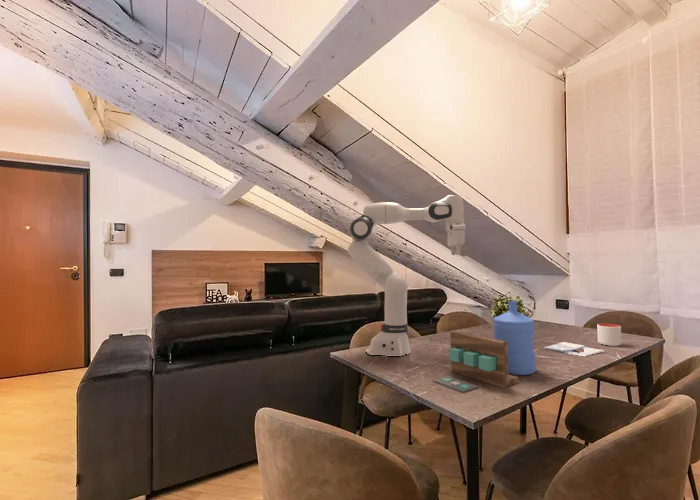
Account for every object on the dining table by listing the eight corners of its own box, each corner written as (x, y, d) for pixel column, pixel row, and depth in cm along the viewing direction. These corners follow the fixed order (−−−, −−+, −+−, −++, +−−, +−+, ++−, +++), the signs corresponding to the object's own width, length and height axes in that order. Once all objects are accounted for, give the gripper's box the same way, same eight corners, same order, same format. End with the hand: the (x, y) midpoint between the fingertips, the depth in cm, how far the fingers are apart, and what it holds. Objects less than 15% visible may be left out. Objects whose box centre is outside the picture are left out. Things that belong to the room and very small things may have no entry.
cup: (626, 346, 184) (625, 327, 184) (606, 347, 184) (605, 327, 184) (612, 342, 194) (611, 323, 194) (593, 342, 194) (592, 323, 194)
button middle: (473, 366, 136) (472, 354, 136) (463, 364, 140) (463, 352, 140) (485, 363, 140) (484, 352, 140) (475, 360, 144) (475, 349, 144)
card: (463, 392, 126) (463, 390, 126) (433, 381, 138) (433, 379, 138) (478, 388, 130) (478, 385, 130) (448, 377, 142) (448, 375, 142)
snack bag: (565, 345, 192) (565, 340, 192) (607, 353, 174) (607, 348, 174) (542, 349, 183) (542, 345, 183) (584, 359, 165) (584, 354, 165)
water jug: (516, 378, 140) (514, 305, 141) (486, 367, 154) (484, 301, 155) (544, 372, 146) (542, 302, 147) (513, 362, 160) (511, 298, 161)
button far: (458, 362, 142) (458, 351, 142) (449, 360, 146) (449, 349, 146) (470, 359, 146) (469, 348, 146) (461, 357, 150) (461, 346, 150)
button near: (489, 371, 130) (488, 359, 130) (478, 368, 134) (478, 356, 134) (501, 367, 134) (500, 355, 134) (490, 365, 138) (490, 353, 138)
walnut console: (503, 387, 130) (502, 342, 130) (451, 371, 150) (450, 332, 151) (518, 382, 135) (517, 339, 135) (466, 367, 155) (465, 329, 155)
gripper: (444, 229, 193) (444, 255, 192) (453, 225, 172) (454, 254, 172) (456, 228, 193) (456, 255, 192) (467, 225, 172) (467, 254, 172)
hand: (455, 254), depth 182 cm, fingers open, 8 cm apart
